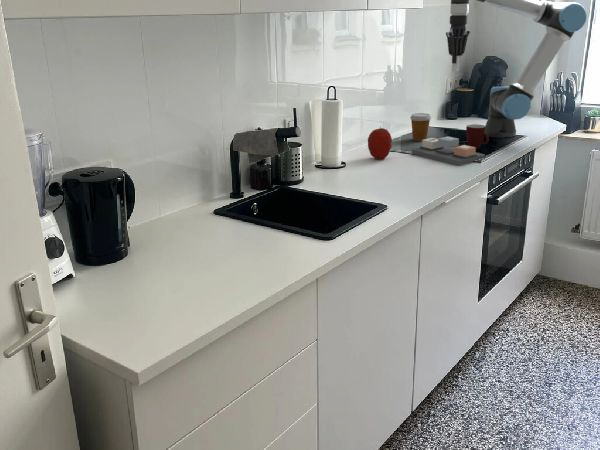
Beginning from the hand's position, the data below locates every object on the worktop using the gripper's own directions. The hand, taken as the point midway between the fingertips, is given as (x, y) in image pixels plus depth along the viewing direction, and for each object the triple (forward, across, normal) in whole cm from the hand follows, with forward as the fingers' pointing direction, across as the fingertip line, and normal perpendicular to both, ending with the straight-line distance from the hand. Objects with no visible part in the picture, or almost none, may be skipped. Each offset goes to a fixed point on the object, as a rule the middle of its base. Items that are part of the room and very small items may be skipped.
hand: (455, 70), depth 264 cm
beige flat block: (+30, +21, +26) cm, 45 cm away
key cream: (+30, +21, +8) cm, 37 cm away
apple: (+33, +45, +1) cm, 56 cm away
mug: (+33, +1, +16) cm, 36 cm away
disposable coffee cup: (+33, +7, -13) cm, 36 cm away
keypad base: (+32, +21, +17) cm, 42 cm away
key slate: (+28, +21, +17) cm, 39 cm away
